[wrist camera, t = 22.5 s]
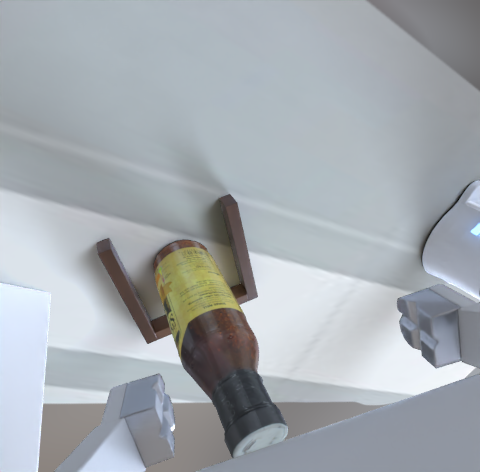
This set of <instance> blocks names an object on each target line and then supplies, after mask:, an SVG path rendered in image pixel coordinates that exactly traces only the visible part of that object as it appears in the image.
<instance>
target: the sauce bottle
mask: <svg viewBox="0 0 480 472" xmlns="http://www.w3.org/2000/svg"><path fill="white" fill-rule="evenodd" d="M154 273H155V282H156V285H157V288H158V292H159V295H160V298H161V301H162V304H163V307H164V311H165V313H166V316H167V319H168V323H169V326H170V329H171V333H172V335H173V338H174V341H175V344H176V347H177V350H178V354H179V357H180V359H181V362H182V365H183V367H184V369H185V370H186V371H187V372H188V373H189V374H190V376H191V377H192V378H193V379H194V380H195V381H196V383H197V384H198V385H199V386H200V387H201V388H202V390H203V391H204V392H205V393H206V394H207V395H208V397H209V398H210V399H211V400H212V402H213V404H214V406H215V407H216V409H217V412H218V415H219V417H220V420H221V423H222V425H223V428H224V430H225V443H226V445H227V447H228V449H229V451H230V454H231V456H232V458H235V457H238V456H241V455H244V454H247V453H250V452H253V451H256V450H259V449H262V448H264V447H267V446H270V445H273V444H276V443H279V442H282V441H284V439H285V437H286V436H287V433H288V427H287V424H286V422H285V420H284V418H283V416H282V414H281V412H280V410H279V409H278V408H277V406H276V405H275V404H273V403H272V401H271V399H270V397H269V395H268V393H267V391H266V389H265V387H264V385H263V380H262V378H261V377H260V376H259V374H258V373H257V367H258V361H259V347H258V342H257V339H256V337H255V335H254V333H253V332H252V330H251V328H250V326H249V325H248V323H247V320H246V317H245V315H244V313H243V311H242V309H241V307H240V306H239V304H238V302H237V300H236V298H235V297H234V295H233V293H232V291H231V290H230V288H229V286H228V284H227V282H226V281H225V279H224V277H223V275H222V274H221V272H220V270H219V268H218V266H217V265H216V263H215V261H214V259H213V257H212V256H211V255H210V254H209V253H208V251H207V249H206V248H205V247H204V246H203V245H202V244H200V243H198V242H196V241H190V240H180V241H175V242H173V243H171V244H169V245H168V246H166V247H165V248H163V249H162V250H161V251H160V252H159V254H158V255H157V257H156V259H155V262H154Z"/></svg>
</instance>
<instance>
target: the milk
mask: <svg viewBox="0 0 480 472" xmlns="http://www.w3.org/2000/svg"><path fill="white" fill-rule="evenodd" d="M50 301H51V293H49V292H44V291H39V290H34V289H29V288H24V287H19V286H14V285H9V284H4V283H0V472H38V462H39V448H40V434H41V421H42V408H43V407H42V406H43V395H44V381H45V368H46V354H47V341H48V328H49V314H50Z"/></svg>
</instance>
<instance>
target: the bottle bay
mask: <svg viewBox="0 0 480 472" xmlns="http://www.w3.org/2000/svg"><path fill="white" fill-rule="evenodd" d="M219 200H220V203H221V207H222V211H223V215H224V219H225V223H226V227H227V231H228V235H229V239H230V243H231V247H232V251H233V255H234V259H235V263H236V266H237V270H238V274H239V278H240V282H241V284H239V285H236V286H234V287H231V288H230V290H231V291H232V293H233V295H234V297H235V298H236V300H237V302H238V304H239V305H240V304H243V303H245V302H247V301H250V300H252V299H254V298H257V297H258V295H257V290H256V286H255V281H254V277H253V272H252V268H251V263H250V259H249V254H248V250H247V245H246V241H245V236H244V231H243V227H242V222H241V218H240V213H239V209H238V204H237V202H236V201H235V200H234V198H233V197H232V196H231V195H230V194H229V195H226V196H224V197H221V198H219ZM97 249H98V255H99V257H100V259H101V261H102V263H103V264H104V266H105V268H106V270H107V272H108V273H109V275H110V277H111V279H112V281H113V282H114V284H115V286H116V288H117V290H118V291H119V293H120V295H121V297H122V299H123V301H124V302H125V304H126V306H127V308H128V310H129V311H130V313H131V315H132V317H133V319H134V320H135V322H136V324H137V326H138V328H139V329H140V331H141V333H142V335H143V337H144V338H145V340H146V342H147V344H149V343H151V342H154V341H156V340H158V339H161V338H163V337H165V336H168V335H170V334H172V333H171V329H170V326H169V323H168V319H167V316H166V315H164V316H162V317H159V318H157V319H154V320H152V321H151V319H150V317H149V315H148V313H147V311H146V309H145V307H144V305H143V303H142V301H141V299H140V297H139V295H138V293H137V291H136V289H135V287H134V285H133V283H132V282H131V280H130V278H129V276H128V274H127V272H126V270H125V268H124V266H123V264H122V262H121V260H120V258H119V256H118V254H117V252H116V250H115V248H114V246H113V244H112V242H111V240H110V239H109V238H108V239H105V240H102V241H100V242H97Z"/></svg>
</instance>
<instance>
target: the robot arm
mask: <svg viewBox="0 0 480 472" xmlns="http://www.w3.org/2000/svg"><path fill="white" fill-rule="evenodd" d="M422 263H423V267H424V269H425V270H426V272H427V273H429V274H431V275H434V276H436V277H438V278H441V279H443V280H445V281H446V282H448V283H449V284H451V285H455V286H456V287H458V288H460V289H462V290H463V291H465V292H467V293H469V294H470V295H472V296H474V297H475V298H477V299H479V300H480V181H475V182H473V183H472V184H470V185H469V186H468V188H467V189H466V190H465V192H464V193H463V195H462V196H461V198H460V199H459V201H458V202H457V203H456V204H455V206H454V207H453V208H452V209H451V210H450V211H449V212H448V213H447V214H446V215H445V216H444V217H443V218H442V219H441V220H440V221H439V223H438V224H437V225H436V227H435V228H434V229H433V231H432V233H431V234H430V236H429V238H428V240H427V242H426V245H425V248H424V251H423V257H422ZM397 308H398V310H399V311H400V312H401V313H402V314H403V315H402V317H401V319H400V321H399V323H400V328H401V332H402V334H403V336H404V338H405V340H406V341H407V342H408V344H409V345H410V346H412V347H413V348H415V349H418V350H421V352H422V356H423V357H424V358H425V359H426V360H427V361H428V362H429V363H431V364H432V365H433V366H434V367H435V368H439V367H442V366H446V365H449V364H452V363H455V362H459V361H462V362H464V363H466V364H469V365H472V366H474V367H477V368H480V302H479V303H476V302H474V301H473V300H471V299H469V298H467V297H465V296H463V295H462V294H460V293H458V292H456V291H454V290H452V289H451V288H449V287H447V286H445V285H443V284H437V285H434V286H432V287H429V288H426V289H424V290H421V291H418V292H415V293H412V294H409V295H406V296H403V297H400V298H398V300H397ZM164 391H165V383H164V381H163V379H162V376H161V375H160V374H156V375H152V376H149V377H145V378H142V379H139V380H135V381H132V382H129V383H125V384H122V385H119V386H116V387H113V388H112V389H111V390H110V393H109V397H108V400H107V404H106V408H105V411H104V415H103V418H102V422H101V425H100V426H97V427H95V428H94V429H93V431H91V432H90V434H89V435H88V436H87V437H86V438H85V439H84V440H83V441H82V442H81V443H80V444H79V445H78V446H77V447H76V448H75V449H74V451H73V452H72V453H71V454H70V455H69V456H68V457H67V458H66V459H65V460H64V461H63V462H62V463H61V464H60V466H59V467H58V468H57V469H56V470H55V471H54V472H145V470H146V469H145V468H146V467H149V466H151V465H154V464H157V463H160V462H162V461H165V460H168V459H170V458H173V457H174V444H175V443H174V442H175V441H174V440H175V439H174V436H173V433H172V430H173V429H174V427H175V417H174V410H173V406H172V402H171V400H170V397H169V395H167V394H165V393H164ZM195 472H480V374H477V375H474V376H471V377H468V378H465V379H462V380H459V381H456V382H453V383H451V384H448V385H445V386H442V387H439V388H436V389H433V390H430V391H427V392H424V393H421V394H419V395H416V396H413V397H410V398H407V399H404V400H401V401H398V402H395V403H392V404H390V405H387V406H384V407H381V408H378V409H375V410H372V411H369V412H366V413H363V414H360V415H358V416H355V417H352V418H349V419H346V420H343V421H340V422H337V423H334V424H332V425H329V426H326V427H323V428H320V429H317V430H314V431H311V432H308V433H305V434H302V435H299V436H297V437H294V438H291V439H288V440H285V441H282V442H279V443H276V444H273V445H270V446H267V447H264V448H262V449H259V450H256V451H253V452H250V453H247V454H244V455H241V456H238V457H235V458H232V459H230V460H227V461H224V462H221V463H218V464H215V465H212V466H209V467H206V468H203V469H200V470H198V471H195Z"/></svg>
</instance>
